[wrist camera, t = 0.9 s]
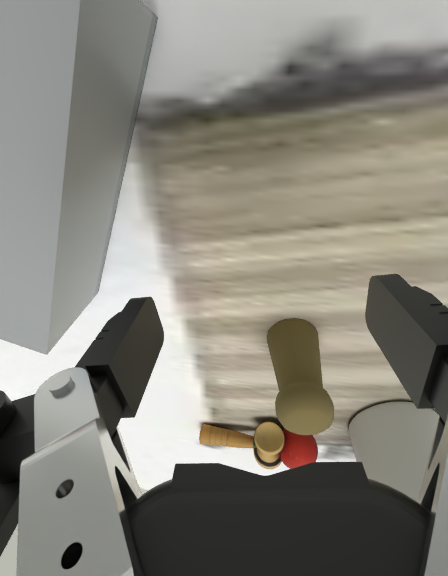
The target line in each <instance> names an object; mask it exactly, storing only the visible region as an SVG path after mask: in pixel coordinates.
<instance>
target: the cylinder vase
mask: <svg viewBox="0 0 448 576" xmlns="http://www.w3.org/2000/svg"><path fill="white" fill-rule="evenodd" d="M438 418H439V415H438V414H437V413H436V412H435V411H434V410H432V409H431V408H430V409H417V408H416V406H415V404H414V403H413V402H387V403H382V404H378V405H375V406H372V407H369V408H367V409H365V410H363V411H362V412H360V413H359V414H357V415H356V416H355V417H354V418H353V420H352V421H351V423H350V425H349V437H350V440H351V443H352V447H353V450H354V454H355V457H356V461H357V462H362V463H363V466H364V469H365V472H366V475H367V478H368V479H372V480H375V481H378V482H380V483H383V484H385V485H388V486H390V487H392V488H394V489H396V490H398V491H400V492H402V493H404V494H405V495H407V496H409V497H410V498H412V499H413V500H415V501H417V498H418V495H419V492H420V489H421V486H422V482H423V478H424V475H425V470H426V466H427V462H428V458H429V453H430V449H431V445H432V441H433V437H434V432H435V428H436V424H437V421H438Z"/></svg>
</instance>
